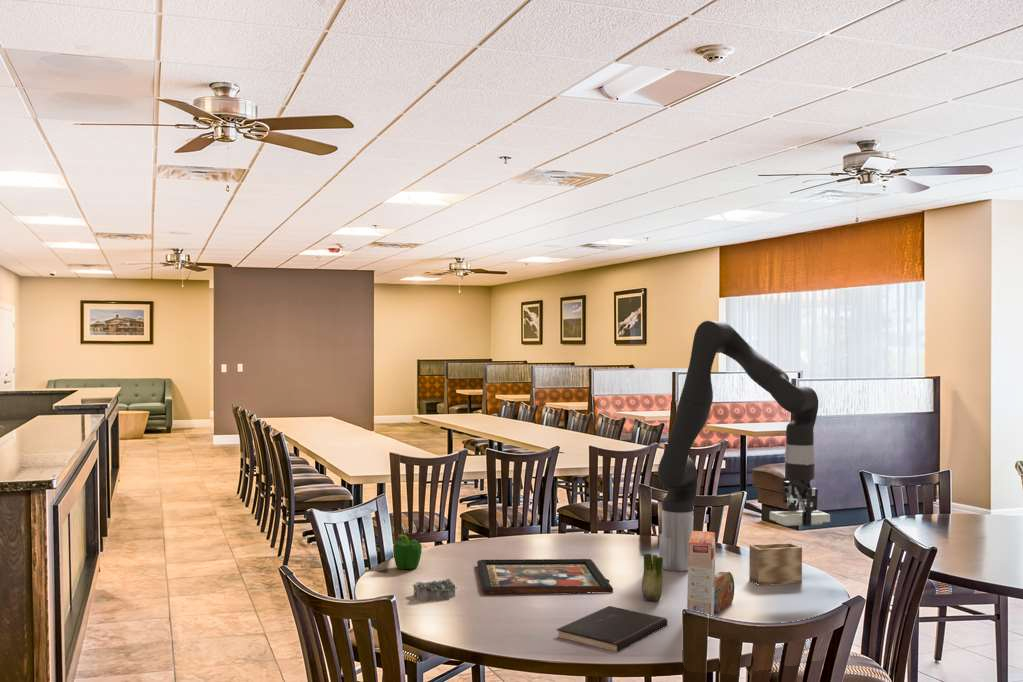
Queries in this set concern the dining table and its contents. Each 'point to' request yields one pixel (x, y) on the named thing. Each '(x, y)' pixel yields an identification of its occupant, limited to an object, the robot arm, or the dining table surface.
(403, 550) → the bell pepper
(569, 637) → the hardcover book
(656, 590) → the fennel bulb
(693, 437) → the robot arm
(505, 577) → the framed icon painting
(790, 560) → the oak box
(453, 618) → the dining table surface
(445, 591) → the egg carton
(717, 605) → the tin
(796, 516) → the lid
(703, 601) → the cracker box
